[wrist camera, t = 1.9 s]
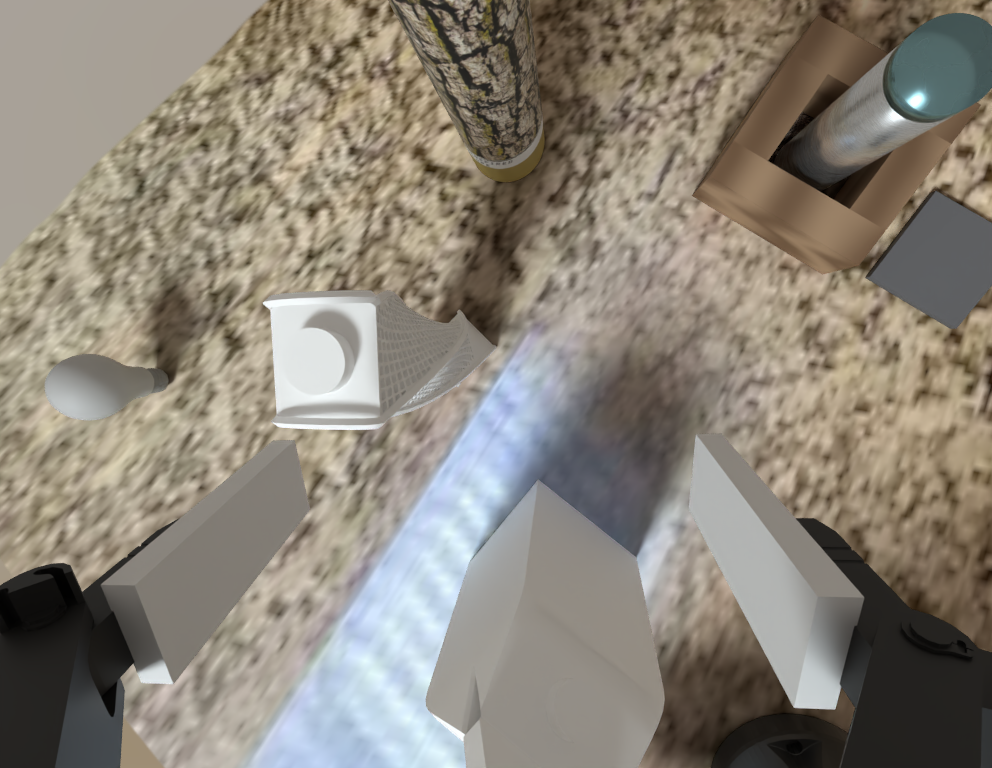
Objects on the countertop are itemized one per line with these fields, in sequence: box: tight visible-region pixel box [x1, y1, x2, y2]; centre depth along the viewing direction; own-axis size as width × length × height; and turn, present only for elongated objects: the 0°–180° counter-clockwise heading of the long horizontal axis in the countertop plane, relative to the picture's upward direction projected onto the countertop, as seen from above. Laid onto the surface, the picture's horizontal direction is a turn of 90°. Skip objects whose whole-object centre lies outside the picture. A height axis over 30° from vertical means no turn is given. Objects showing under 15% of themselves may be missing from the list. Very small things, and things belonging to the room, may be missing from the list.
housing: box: [692, 15, 981, 274], centre depth 37 cm, size 13×13×5 cm
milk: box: [426, 480, 665, 768], centre depth 33 cm, size 12×12×26 cm
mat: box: [866, 191, 992, 329], centre depth 38 cm, size 8×8×1 cm
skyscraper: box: [263, 290, 497, 430], centre depth 31 cm, size 8×8×28 cm
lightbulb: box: [45, 354, 169, 420], centre depth 45 cm, size 6×6×11 cm
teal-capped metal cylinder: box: [774, 13, 992, 192], centre depth 32 cm, size 5×5×15 cm
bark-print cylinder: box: [388, 0, 545, 182], centre depth 30 cm, size 7×7×25 cm
